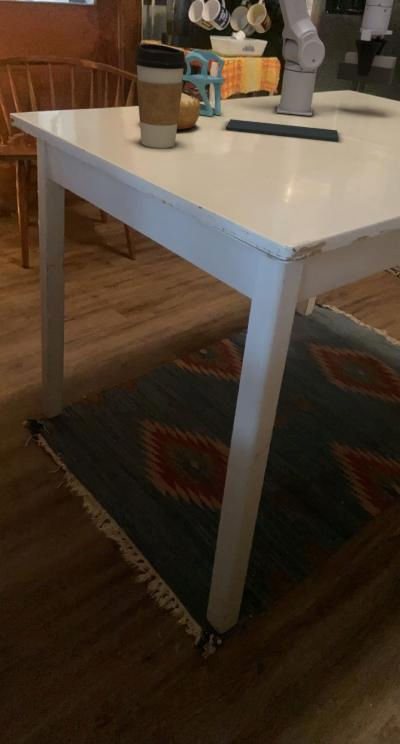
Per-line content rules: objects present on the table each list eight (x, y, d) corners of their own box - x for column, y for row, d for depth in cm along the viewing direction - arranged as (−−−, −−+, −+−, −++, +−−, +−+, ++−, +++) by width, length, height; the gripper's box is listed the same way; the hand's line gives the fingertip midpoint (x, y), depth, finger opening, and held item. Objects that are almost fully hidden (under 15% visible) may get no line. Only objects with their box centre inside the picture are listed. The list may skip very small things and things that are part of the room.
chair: (204, 117, 127) (209, 54, 121) (175, 110, 132) (178, 48, 125) (227, 114, 132) (233, 52, 126) (199, 107, 137) (202, 47, 130)
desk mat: (230, 122, 125) (230, 119, 125) (336, 133, 124) (337, 130, 123) (225, 130, 119) (225, 126, 119) (338, 141, 117) (338, 138, 117)
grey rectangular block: (336, 78, 141) (341, 52, 138) (341, 76, 145) (345, 51, 142) (387, 85, 137) (393, 58, 134) (391, 83, 141) (397, 57, 138)
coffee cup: (160, 136, 111) (162, 43, 102) (192, 146, 106) (197, 49, 98) (123, 141, 105) (123, 44, 97) (155, 152, 101) (158, 50, 92)
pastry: (203, 134, 114) (207, 82, 109) (140, 132, 112) (141, 79, 107) (194, 120, 124) (197, 72, 119) (136, 118, 122) (136, 69, 117)
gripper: (390, 8, 126) (375, 79, 133) (403, 7, 137) (388, 73, 144) (357, 5, 128) (344, 75, 135) (372, 4, 139) (359, 70, 147)
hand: (365, 74), depth 140 cm, fingers closed on grey rectangular block, 4 cm apart
